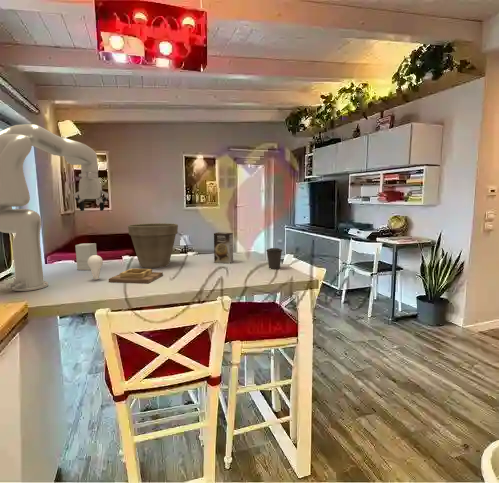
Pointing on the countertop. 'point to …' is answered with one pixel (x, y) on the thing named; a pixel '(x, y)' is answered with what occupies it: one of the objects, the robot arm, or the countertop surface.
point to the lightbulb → (95, 265)
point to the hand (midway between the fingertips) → (92, 210)
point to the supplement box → (84, 255)
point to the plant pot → (153, 243)
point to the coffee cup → (274, 257)
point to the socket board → (136, 276)
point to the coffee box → (223, 247)
